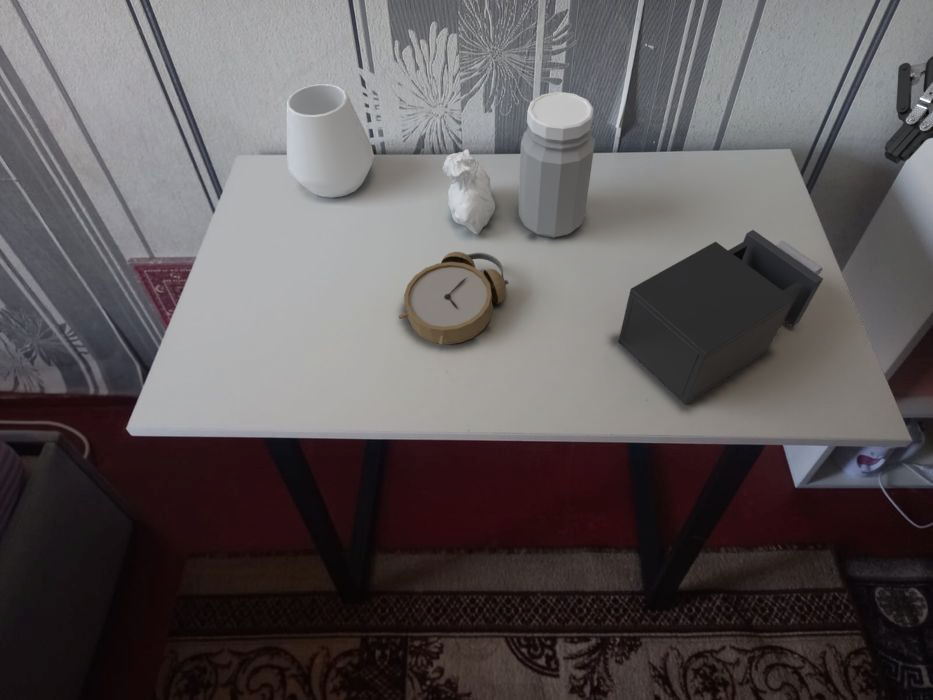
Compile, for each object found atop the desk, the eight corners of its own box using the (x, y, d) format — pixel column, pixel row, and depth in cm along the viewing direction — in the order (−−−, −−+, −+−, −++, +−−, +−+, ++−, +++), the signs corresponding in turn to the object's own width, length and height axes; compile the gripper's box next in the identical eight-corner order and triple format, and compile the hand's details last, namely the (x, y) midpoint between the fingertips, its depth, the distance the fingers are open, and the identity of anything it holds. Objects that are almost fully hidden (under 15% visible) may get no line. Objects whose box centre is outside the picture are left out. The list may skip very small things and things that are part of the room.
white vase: (276, 183, 104) (250, 103, 93) (339, 144, 110) (322, 65, 99) (331, 218, 98) (310, 137, 88) (395, 175, 104) (383, 95, 93)
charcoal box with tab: (696, 295, 86) (715, 241, 79) (766, 352, 80) (794, 299, 72) (618, 341, 82) (630, 288, 74) (685, 405, 76) (706, 354, 68)
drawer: (757, 261, 88) (776, 216, 82) (821, 307, 83) (847, 263, 77) (665, 314, 83) (679, 270, 77) (728, 368, 78) (748, 325, 71)
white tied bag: (476, 201, 103) (429, 149, 97) (515, 179, 99) (468, 124, 93) (463, 253, 96) (411, 200, 90) (504, 232, 91) (452, 176, 85)
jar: (588, 240, 93) (604, 129, 79) (519, 242, 94) (524, 132, 80) (580, 197, 99) (594, 86, 85) (516, 198, 100) (520, 89, 86)
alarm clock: (384, 304, 83) (458, 226, 88) (393, 324, 87) (463, 249, 92) (450, 346, 78) (525, 262, 83) (457, 366, 83) (527, 285, 87)
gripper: (1072, 63, 71) (944, 196, 77) (956, 18, 78) (846, 143, 84) (1080, 29, 65) (941, 176, 71) (954, -17, 72) (837, 121, 78)
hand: (890, 158), depth 77 cm, fingers closed
